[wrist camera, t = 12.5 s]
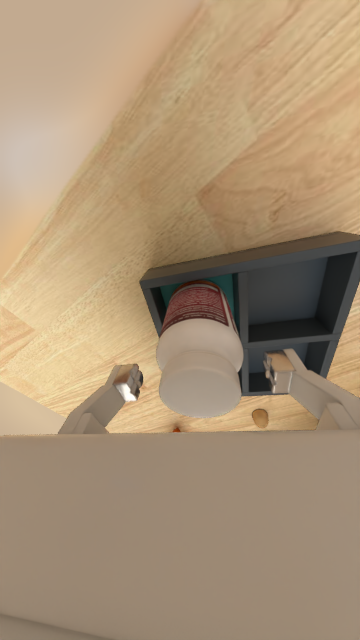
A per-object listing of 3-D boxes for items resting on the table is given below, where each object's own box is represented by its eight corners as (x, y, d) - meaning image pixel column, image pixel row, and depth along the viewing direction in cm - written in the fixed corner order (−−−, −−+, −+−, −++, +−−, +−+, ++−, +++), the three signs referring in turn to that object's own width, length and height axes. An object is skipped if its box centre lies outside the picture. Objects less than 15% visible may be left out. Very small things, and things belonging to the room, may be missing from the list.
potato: (267, 408, 29) (271, 419, 28) (267, 420, 31) (271, 431, 30) (251, 409, 30) (253, 419, 29) (252, 421, 32) (255, 431, 31)
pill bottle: (159, 306, 19) (124, 394, 10) (196, 264, 17) (193, 334, 7) (199, 336, 21) (200, 434, 12) (239, 302, 18) (281, 398, 9)
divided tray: (148, 269, 18) (138, 281, 15) (339, 231, 15) (375, 237, 12) (182, 378, 27) (180, 399, 24) (305, 369, 24) (321, 392, 21)
